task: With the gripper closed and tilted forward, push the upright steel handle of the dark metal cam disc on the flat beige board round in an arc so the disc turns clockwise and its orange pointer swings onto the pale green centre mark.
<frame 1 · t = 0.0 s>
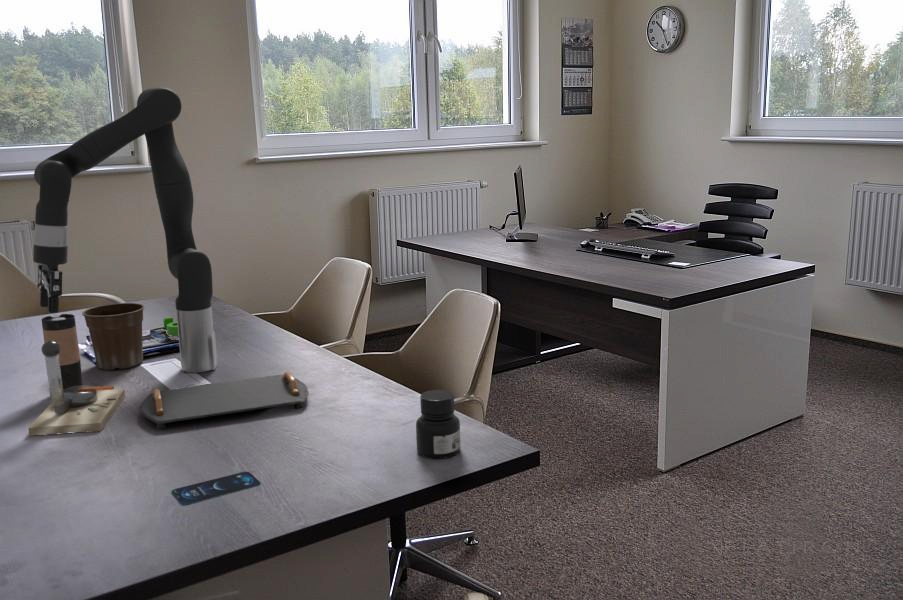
hand: (48, 309, 206), 22 cm above the table, tool pointing down, fingers open, 8 cm apart
serving board: (227, 408, 202), on the table
ink bottle: (438, 452, 172), on the table
smartphone: (216, 490, 157), on the table
travel mug: (67, 395, 212), on the table
tape dispenser: (178, 336, 269), on the table
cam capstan: (78, 369, 196), point 11 cm above the table, hinge at 0.0°
plant pot: (119, 365, 238), on the table
flat beige board: (80, 415, 197), on the table
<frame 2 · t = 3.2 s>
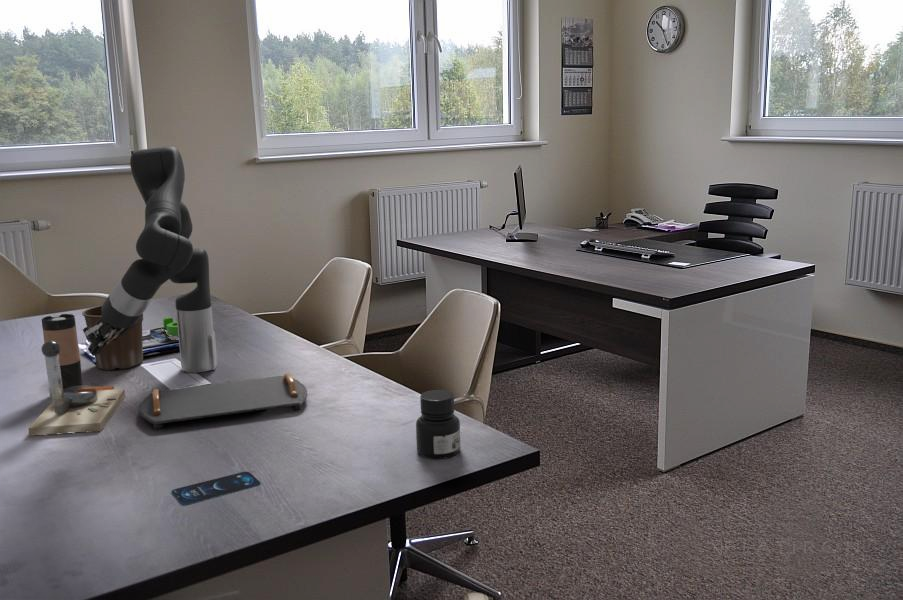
hand: (93, 352, 182), 18 cm above the table, tool tilted 45°, fingers closed
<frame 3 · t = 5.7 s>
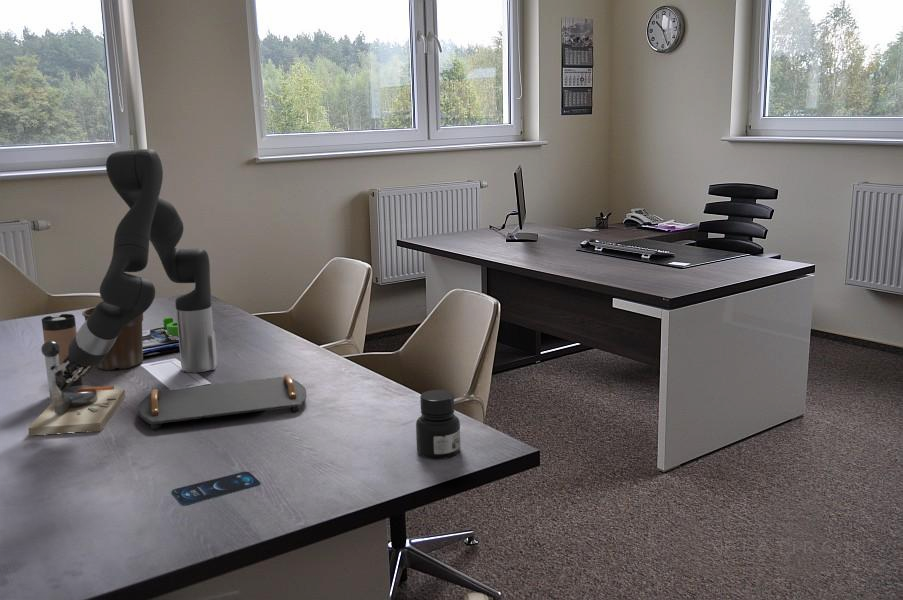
hand: (61, 387, 189), 9 cm above the table, tool tilted 45°, fingers closed
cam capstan: (78, 369, 196), point 11 cm above the table, hinge at -0.2°, touching gripper
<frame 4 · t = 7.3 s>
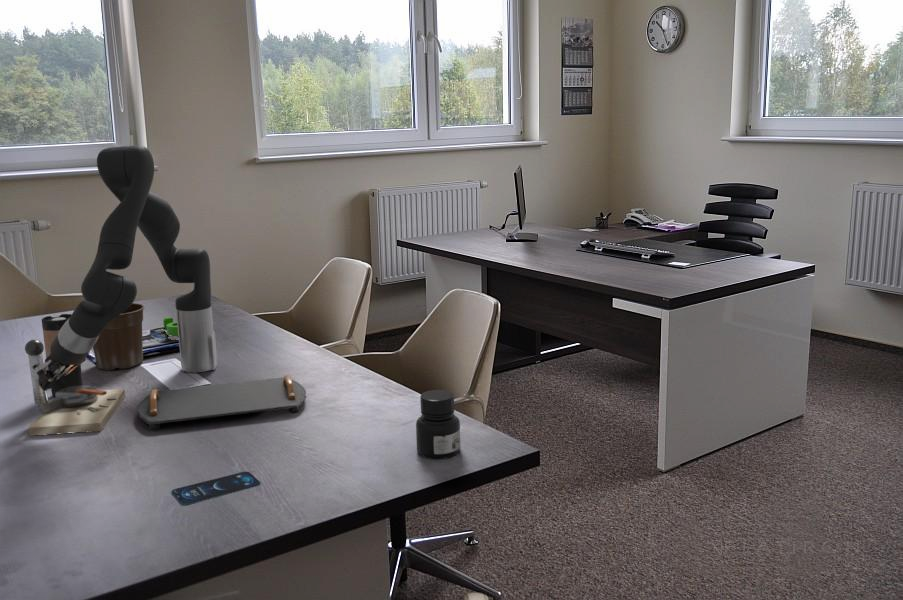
hand: (43, 386, 190), 9 cm above the table, tool tilted 45°, fingers closed
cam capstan: (69, 370, 195), point 11 cm above the table, hinge at -28.9°, touching gripper
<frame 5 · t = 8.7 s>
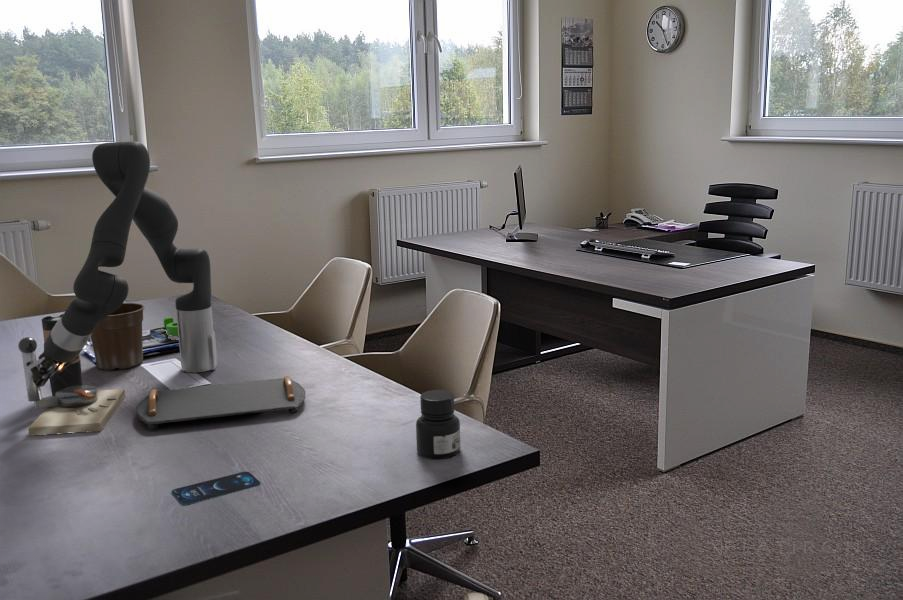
hand: (38, 383, 192), 9 cm above the table, tool tilted 45°, fingers closed
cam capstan: (63, 371, 195), point 11 cm above the table, hinge at -51.4°, touching gripper
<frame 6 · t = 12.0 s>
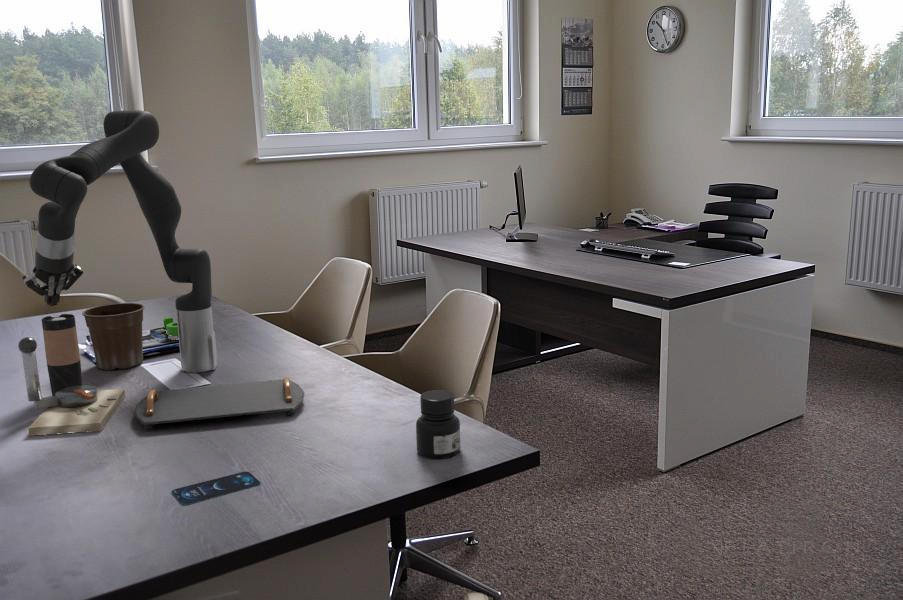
hand: (51, 303, 192), 27 cm above the table, tool tilted 35°, fingers closed
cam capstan: (63, 371, 195), point 11 cm above the table, hinge at -51.6°
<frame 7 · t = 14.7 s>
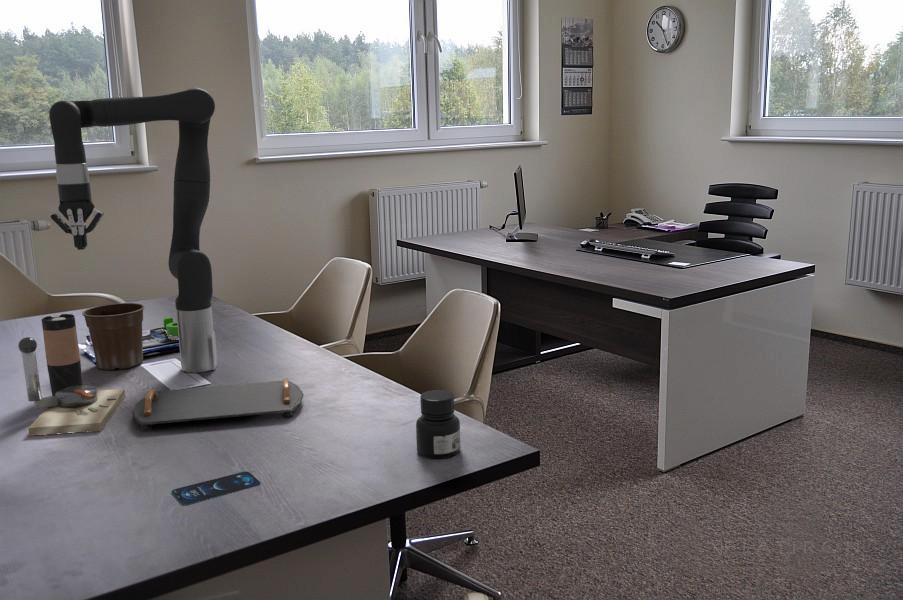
hand: (81, 249, 217), 35 cm above the table, tool pointing down, fingers closed
at the end: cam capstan at -52° (first picture: +0°); travel mug moved 0.2 cm from its start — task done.
